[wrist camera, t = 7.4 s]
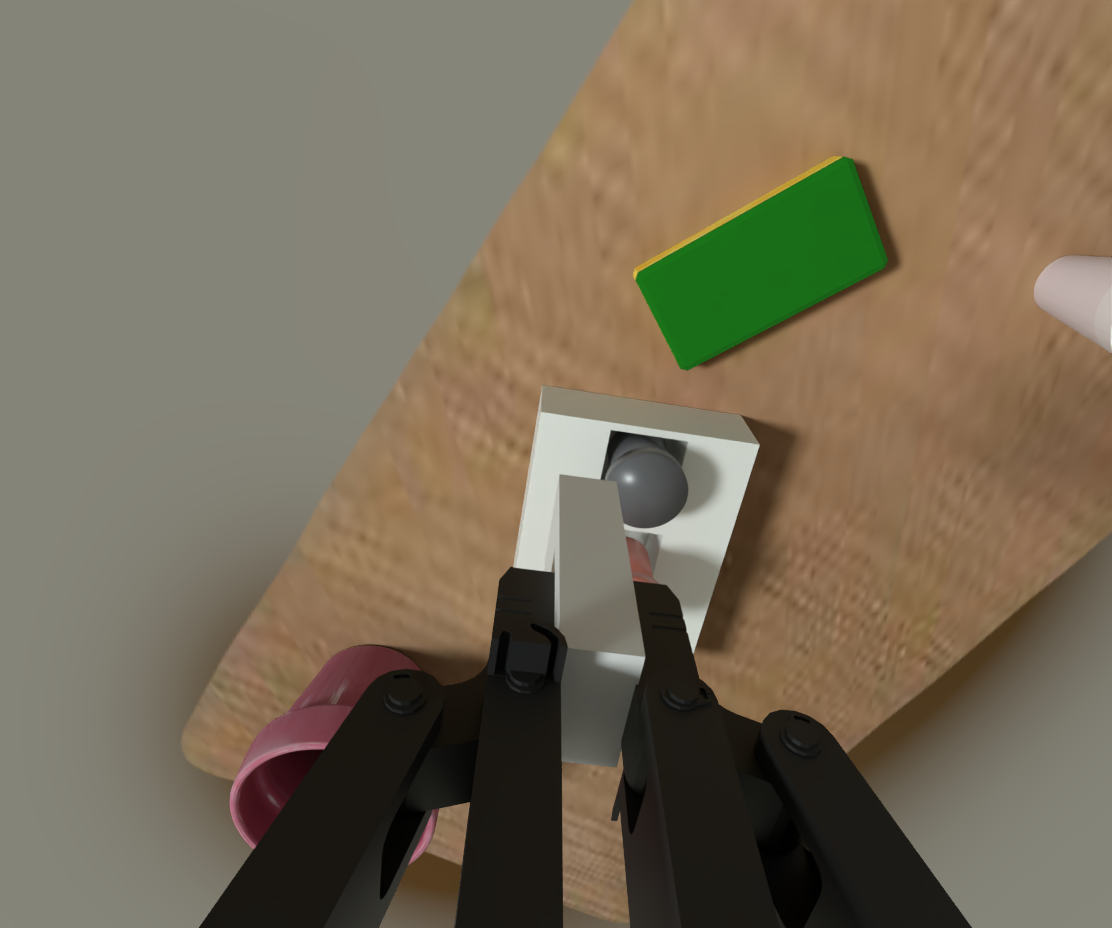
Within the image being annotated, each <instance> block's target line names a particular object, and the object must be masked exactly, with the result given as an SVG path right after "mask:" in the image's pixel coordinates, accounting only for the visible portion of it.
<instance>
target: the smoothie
mask: <svg viewBox="0 0 1112 928" xmlns="http://www.w3.org/2000/svg"><path fill="white" fill-rule="evenodd" d="M1034 298H1035V302H1036V304H1037V305H1038V306H1039V308H1041V309H1042V310H1043V311H1045V312H1047V313H1048V314H1050V315H1051V316H1053V317H1055V318H1056V319H1058V320H1059V321H1061V322H1063V323H1064V324H1066V325H1067V326H1069V327H1071V328H1072V329H1074V330H1075V331H1077V332H1079V333H1080V334H1082V335H1083V336H1085V337H1087V338H1088V339H1090V340H1091V341H1093V342H1095V343H1096V344H1098V345H1099V346H1101V347H1102V348H1104V349H1105V350H1107V351H1108V352H1110V353H1112V257H1099V256H1082V255H1068V256H1064V257H1061V258H1059V259H1057V260H1055V261H1053V262H1052V263H1050V264H1049V265H1048V266H1047V267H1046V268H1045V269H1044V270H1043V271H1042V272H1041V274H1040V275H1039V277H1038V279H1037V281H1036V284H1035V287H1034Z"/></svg>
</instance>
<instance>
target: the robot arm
mask: <svg viewBox="0 0 1112 928" xmlns="http://www.w3.org/2000/svg"><path fill="white" fill-rule="evenodd" d="M621 748H622V757H623V767H624V769H623V773H622V777H621V780H620V784H619V788H618V792H617V795H616V799H615V803H614V807H613V811H612V818H611V820H612V821H617V819H618V816H619V812H620V814H621V825H622V837H623V848H624V859H625V871H626V882H627V894H628V905H629V917H630V928H972V927H971V926H970V924H969V923H968V922H967V920H966V919H965V918H964V916H963V915H962V913H961V912H960V911H959V909H958V908H957V906H956V905H955V904H954V902H953V901H952V900H951V898H950V897H949V895H948V894H947V893H946V891H945V890H944V888H943V887H942V886H941V885H940V883H939V882H938V880H937V879H936V877H935V876H934V875H933V873H932V872H931V871H930V869H929V868H928V866H927V865H926V864H925V862H924V861H923V859H922V858H921V857H920V855H919V854H918V852H917V851H916V850H915V848H914V847H913V846H912V844H911V843H910V841H909V840H908V839H907V837H906V836H905V835H904V833H903V832H902V830H901V829H900V828H899V826H898V825H897V823H896V822H895V821H894V819H893V818H892V817H891V815H890V814H889V812H888V811H887V810H886V808H885V807H884V805H883V804H882V803H881V801H880V800H879V799H878V797H877V796H876V794H875V793H874V792H873V790H872V789H871V787H870V786H869V785H868V783H867V782H866V780H865V779H864V778H863V776H862V775H861V774H860V772H859V771H858V770H857V768H856V767H855V765H854V764H853V763H852V761H851V760H850V758H849V757H848V756H847V754H846V753H845V751H844V750H843V749H842V747H841V746H840V744H839V743H838V742H837V740H836V739H835V738H834V736H833V735H832V734H831V733H830V732H829V731H828V730H827V729H826V728H825V727H824V726H823V725H822V724H821V723H819V722H818V721H816V720H814V719H813V718H811V717H810V716H808V715H805V714H802V713H799V712H796V711H790V710H778V711H775V712H771V713H769V715H768V716H767V717H766V718H765V719H764V720H763V722H762V723H759V722H756V721H754V720H751V719H748V718H746V717H743V716H740V715H737V714H735V713H733V712H731V711H729V710H727V709H725V708H724V707H722V706H721V705H719V704H718V700H717V698H716V696H715V694H714V692H713V691H712V689H711V688H710V687H709V686H708V685H707V684H706V683H704V682H703V681H702V680H701V679H699V675H698V671H697V667H696V663H695V660H694V656H693V652H692V648H691V644H690V640H689V636H688V633H687V628H686V624H685V620H684V619H683V613H682V609H681V605H680V601H679V599H678V598H677V597H676V596H675V594H674V593H673V592H672V591H671V589H670V588H669V587H668V586H667V585H664V584H656V583H648V582H640V581H633V578H632V572H631V566H630V560H629V554H628V548H627V542H626V535H625V529H624V523H623V517H622V511H621V505H620V499H619V493H618V487H617V482H616V481H608V480H600V479H593V478H585V477H578V476H570V475H563V474H559V479H558V485H557V491H556V497H555V503H554V509H553V515H552V521H551V527H550V533H549V539H548V545H547V551H546V557H545V568H544V571H538V570H530V569H522V568H514V567H510V568H509V569H508V571H507V572H506V573H505V574H504V575H503V576H502V577H501V579H500V580H499V587H498V595H497V602H496V610H495V617H494V624H493V632H492V640H491V647H490V655H489V660H488V663H487V665H486V667H485V668H484V669H483V671H482V672H481V673H479V674H478V675H477V676H476V677H474V678H472V679H470V680H468V681H466V682H462V683H458V684H454V685H447V686H442V685H441V684H440V683H439V682H438V681H437V680H436V679H435V678H434V677H433V676H431V675H429V674H427V673H425V672H423V671H419V670H412V669H401V670H393V671H390V672H388V673H385V674H383V675H381V676H379V677H377V678H376V679H375V680H374V681H373V682H372V683H371V684H370V685H369V686H368V687H367V689H366V690H365V691H364V693H363V694H362V696H361V697H360V699H359V700H358V701H357V703H356V704H355V706H354V707H353V709H352V710H351V711H350V713H349V714H348V716H347V717H346V719H345V720H344V721H343V723H342V724H341V726H340V727H339V729H338V730H337V731H336V733H335V734H334V736H333V737H332V739H331V740H330V741H329V743H328V744H327V746H326V747H325V749H324V750H323V751H322V753H321V754H320V756H319V757H318V759H317V760H316V761H315V763H314V764H313V766H312V767H311V769H310V770H309V771H308V773H307V774H306V776H305V777H304V779H303V780H302V781H301V783H300V784H299V786H298V787H297V788H296V790H295V791H294V793H293V794H292V796H291V797H290V798H289V800H288V801H287V803H286V804H285V806H284V807H283V808H282V810H281V811H280V813H279V814H278V816H277V817H276V818H275V820H274V821H273V823H272V824H271V826H270V827H269V828H268V830H267V831H266V833H265V834H264V836H263V837H262V838H261V840H260V841H259V843H258V844H257V846H256V847H255V848H254V850H253V851H252V853H251V854H250V856H249V857H248V858H247V860H246V861H245V863H244V864H243V866H242V867H241V868H240V870H239V871H238V873H237V874H236V876H235V877H234V878H233V880H232V881H231V883H230V884H229V886H228V887H227V888H226V890H225V891H224V893H223V894H222V896H221V897H220V898H219V900H218V901H217V903H216V904H215V906H214V907H213V908H212V910H211V911H210V913H209V914H208V916H207V917H206V918H205V920H204V921H203V923H202V924H201V926H200V927H199V928H379V926H380V924H381V922H382V919H383V917H384V915H385V913H386V910H387V909H388V907H389V905H390V902H391V900H392V898H393V896H394V893H395V892H396V890H397V887H398V885H399V883H400V881H401V879H402V877H403V875H404V872H405V870H406V868H407V866H408V864H409V862H410V860H411V858H412V855H413V853H414V851H415V849H416V847H417V845H418V843H419V840H420V838H421V836H422V834H423V832H424V830H425V828H426V825H427V823H428V821H429V819H430V817H431V814H432V810H434V809H438V808H443V807H448V806H453V805H458V804H462V803H467V802H470V808H469V816H468V823H467V831H466V839H465V847H464V855H463V863H462V870H461V879H460V887H459V894H458V902H457V910H456V918H455V925H454V928H563V868H562V762H572V763H581V764H591V765H600V766H609V767H617V764H618V760H619V756H620V752H621Z"/></svg>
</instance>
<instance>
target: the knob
mask: <svg viewBox="0 0 1112 928" xmlns="http://www.w3.org/2000/svg"><path fill="white" fill-rule="evenodd" d="M607 455H608V462H609V469H608V471H607V473H606V477H605V480H608V481H616V482H617V487H618V493H619V499H620V505H621V511H622V517H623V523H624V524H626V525H628V526H631V527H635V528H643V529H644V528H654V527H658V526H661V525H664V524H666V523H668V522H669V521H671V520H672V519H674V518H675V517H676V516H677V515H678V514H679V513H680V512H681V510H682V509H683V507H684V506H685V504H686V501H687V497H688V483H687V479H686V476H685V474H684V471H683V469H682V466H681V465H680V463H679V462H678V461H677V459H676V458H675V457H673V456H672V455H671V454H669V453H668V450H667V447H666V444H665V442H664V439H663V438H661V437H655V436H648V435H641V434H635V433H628V432H621V431H618V432H616V433H615V434H614V436H613V437H612V438H611V440H610V442H609V445H608V449H607Z"/></svg>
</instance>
